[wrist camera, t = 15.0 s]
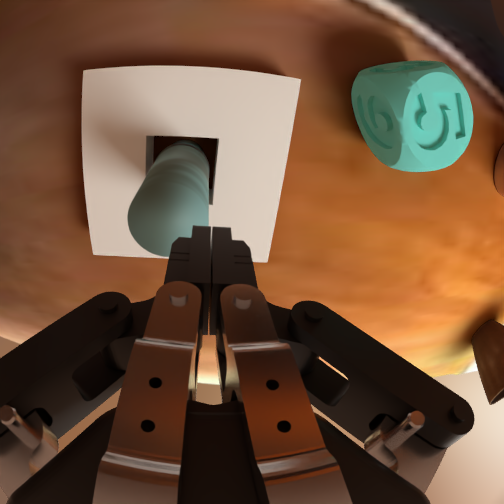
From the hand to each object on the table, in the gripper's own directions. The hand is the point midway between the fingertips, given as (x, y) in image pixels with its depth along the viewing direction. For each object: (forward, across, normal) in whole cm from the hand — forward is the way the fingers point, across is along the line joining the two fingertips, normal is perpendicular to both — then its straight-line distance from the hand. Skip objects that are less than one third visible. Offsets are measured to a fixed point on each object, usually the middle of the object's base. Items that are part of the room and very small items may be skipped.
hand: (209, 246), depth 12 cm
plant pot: (+16, -60, +29) cm, 69 cm away
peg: (+15, +2, +1) cm, 15 cm away
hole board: (+15, +2, +1) cm, 15 cm away
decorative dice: (+16, -16, -7) cm, 23 cm away
